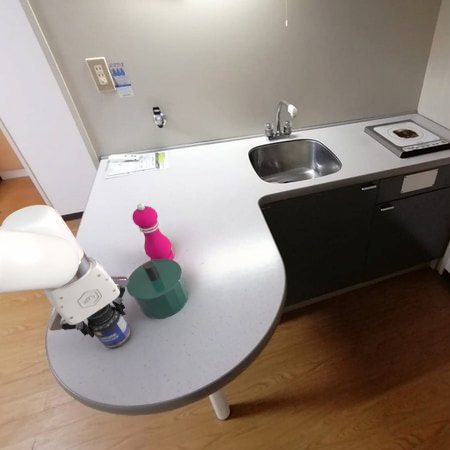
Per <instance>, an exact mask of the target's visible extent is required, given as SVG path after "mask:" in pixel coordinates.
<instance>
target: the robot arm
mask: <svg viewBox="0 0 450 450" xmlns="http://www.w3.org/2000/svg"><path fill="white" fill-rule="evenodd" d="M128 282H129V280H128V277H126V276H115V275H114V276H113V275H110V274H109V273H108V272H107V270H106V269H105V268H104V267H103V266H102V265H101V264H100V263H99V262H98V261H97V260H96V259H94V258H93V257H90V256H88V255H87V254H86V252H85V251H84V249H83V248H82V245H80V243H79V241H78V240H77V238H76V237H75V236H74V234H73V232H72V231H71V229H70V228H69V226H68V224H67V223H66V222H65V220H64V219H63V217H62V215H61V214H60V212H58V210H57V209H55V208H54V207H52V206H50V205H46V204H34V205H28V206H25V207H22V208H19V209H17V210H15V211H14V212H12V213H10V214H9V215H7V217H5V219H4V220H3V221H2V223H1V225H0V294H4V293H14V292H25V291H35V290H43V291H44V294H45V296H46V298H47V299H48V301H49V302H50V304H51V305H52V307H53V308H54V311H53V312H52V315H51V317H50V319H49V322H48V324H47V328H48V329H49V331H50V332H52V331H61V330H64V331H68V330H69V331H71V330H76V331H80V332H81V334H82V335H83V336H84V337H86V336H87V335H88V336H89V337H90V338H91V339H93V338H95V337H96V336H95V335H94V333H93V332H92V331H91V330H90V329H89V327H88V324H87V323H86V322H85V321H84V320H87V318H88V317H89V316H91V315H92V314H94V313H95V312H97V311H99V310H100V309H102V308H103V307H105V306H106V305H108V304H110V303H112V306H114V307H116V308H117V309H118V310H119V312H120V314H121V315H122V316H123V317H125V316H126V315H127V313H126V312H125V310H126V309H127V307H126V306H125V304H124V303H123V301H124V300H123V297H124V294H125V292H126V289H127V285H128ZM62 319H63V320H62Z"/></svg>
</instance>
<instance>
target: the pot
mask: <svg viewBox="0 0 450 450" xmlns="http://www.w3.org/2000/svg"><path fill="white" fill-rule="evenodd" d="M133 299H134V301H135V302H136V304H137V306H138V308H139V309H140V311H141V312H142V313H143V315H144V316H145V317H147V318H148V319H153V320H163V319H167V318H170V317H172V316H174V315H176V314H177V313H179V312H180V311H181V310H182V309H183V308H184V307H185V306H186V304H187V303H188V299H189V291H188V288H187V285H186V283H185V280H184V276H182V277H181V279H180V281H179V283H178V284H177V286H176V287H175V288H174V289H173V290H171V291H170V292H169V293H167V294H165V295H164V296H161V297H159V298H156V299H152V300H139V299H136V298H134V297H133Z"/></svg>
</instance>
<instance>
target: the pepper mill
mask: <svg viewBox="0 0 450 450" xmlns="http://www.w3.org/2000/svg"><path fill="white" fill-rule="evenodd" d="M131 216H132V217H131V218H132V222H133V224H135V225H136V226H137V227H138V229H139V232H141V233H143V236H144V245H143V247H144V249H143V250H144V252H145V254H146V255H147V257H148V258H150V259H149V260H150V261H152V260H155V259H171V260H173V259H174V256H175V254H174V251H173V245H172V242H171V240H170V239H169V238H168V237H167V236H166V235H164V233H162V232H161V230H160V228H159V227H160V222H159V220H158V218H159V217H158V212H157V211H156V209H155V208H153V207H151V206H148V205H145V204H143V203H138V204H137V206H136V209H135V210H134V211H133V213H132V215H131Z"/></svg>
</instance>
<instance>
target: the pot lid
mask: <svg viewBox="0 0 450 450" xmlns="http://www.w3.org/2000/svg"><path fill="white" fill-rule="evenodd" d="M181 277H183V270H182V267H181V265H180V264H179V263H178V262H177V261H176V260H173V259H172V260H171V259H155V260H152V261H151V260H148V261H146V262H144V263H142V264H141V265H139V266H138V267H137V268H135V269H134V270H133V271H132V272H131V273H130V275H129V277H127V279H128V280H129V282H128V285H127V287H126V291H127V293H128V294H129V295H130V296H131V297H132V298H133V299H134V298H136V299H139V300H152V299H156V298H159V297H161V296H164V295H165V294H167V293H169V292H170V291H171V290H173V289H174V288H175V287H176V286H177V284H178V283H179V281H180V279H181Z"/></svg>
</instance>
